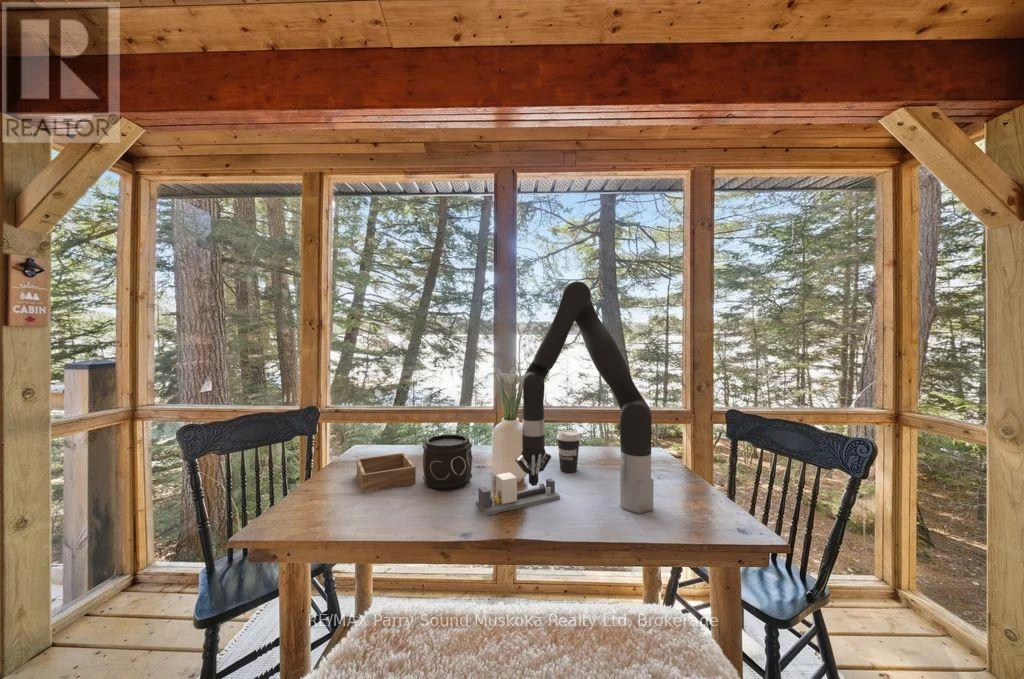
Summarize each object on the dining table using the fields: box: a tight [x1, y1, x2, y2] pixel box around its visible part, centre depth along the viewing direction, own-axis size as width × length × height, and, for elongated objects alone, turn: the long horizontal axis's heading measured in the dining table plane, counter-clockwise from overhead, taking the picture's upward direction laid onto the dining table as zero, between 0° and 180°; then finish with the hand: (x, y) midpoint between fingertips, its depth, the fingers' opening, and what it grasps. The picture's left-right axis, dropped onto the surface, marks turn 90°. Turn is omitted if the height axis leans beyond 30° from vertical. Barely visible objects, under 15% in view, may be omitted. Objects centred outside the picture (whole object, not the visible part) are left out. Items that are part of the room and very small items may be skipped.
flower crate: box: [356, 452, 417, 493], centre depth 148 cm, size 19×18×6 cm
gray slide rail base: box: [475, 478, 561, 516], centre depth 128 cm, size 26×9×6 cm, turn 117°
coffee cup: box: [556, 429, 582, 474], centre depth 156 cm, size 10×10×15 cm
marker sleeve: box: [495, 472, 518, 504], centre depth 126 cm, size 5×5×8 cm
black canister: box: [422, 433, 473, 492], centre depth 144 cm, size 18×18×16 cm
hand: (533, 484), depth 130 cm, fingers closed
